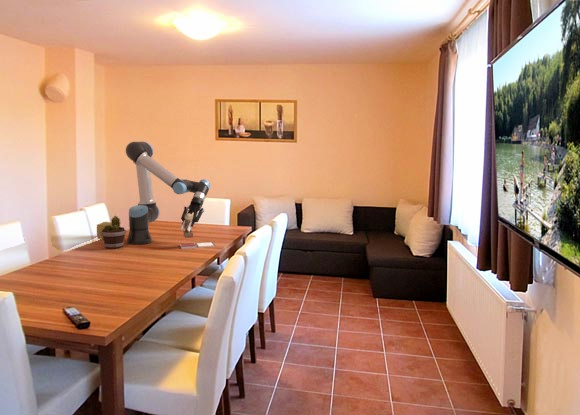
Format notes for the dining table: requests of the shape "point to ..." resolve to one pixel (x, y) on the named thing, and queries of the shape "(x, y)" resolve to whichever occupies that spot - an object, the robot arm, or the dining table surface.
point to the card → (205, 244)
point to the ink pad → (187, 245)
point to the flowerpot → (113, 234)
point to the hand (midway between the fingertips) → (185, 230)
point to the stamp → (187, 221)
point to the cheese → (101, 226)
